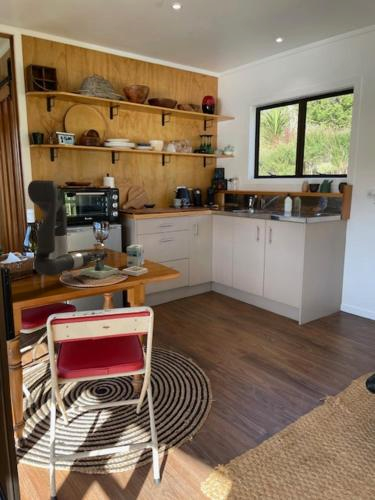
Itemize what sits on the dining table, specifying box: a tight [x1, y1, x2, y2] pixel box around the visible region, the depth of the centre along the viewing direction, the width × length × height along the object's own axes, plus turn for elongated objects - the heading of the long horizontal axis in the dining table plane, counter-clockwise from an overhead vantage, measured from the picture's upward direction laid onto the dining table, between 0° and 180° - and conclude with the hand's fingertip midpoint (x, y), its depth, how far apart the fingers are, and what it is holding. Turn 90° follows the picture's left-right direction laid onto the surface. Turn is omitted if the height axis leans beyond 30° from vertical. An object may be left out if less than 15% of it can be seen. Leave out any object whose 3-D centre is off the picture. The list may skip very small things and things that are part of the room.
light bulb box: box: [126, 243, 145, 268], centre depth 207 cm, size 11×7×11 cm, turn 168°
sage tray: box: [79, 265, 119, 280], centre depth 187 cm, size 13×13×2 cm
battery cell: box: [93, 242, 105, 271], centre depth 185 cm, size 5×5×14 cm
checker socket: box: [122, 266, 149, 277], centre depth 190 cm, size 9×9×2 cm
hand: (102, 254), depth 187 cm, fingers closed on battery cell, 4 cm apart
